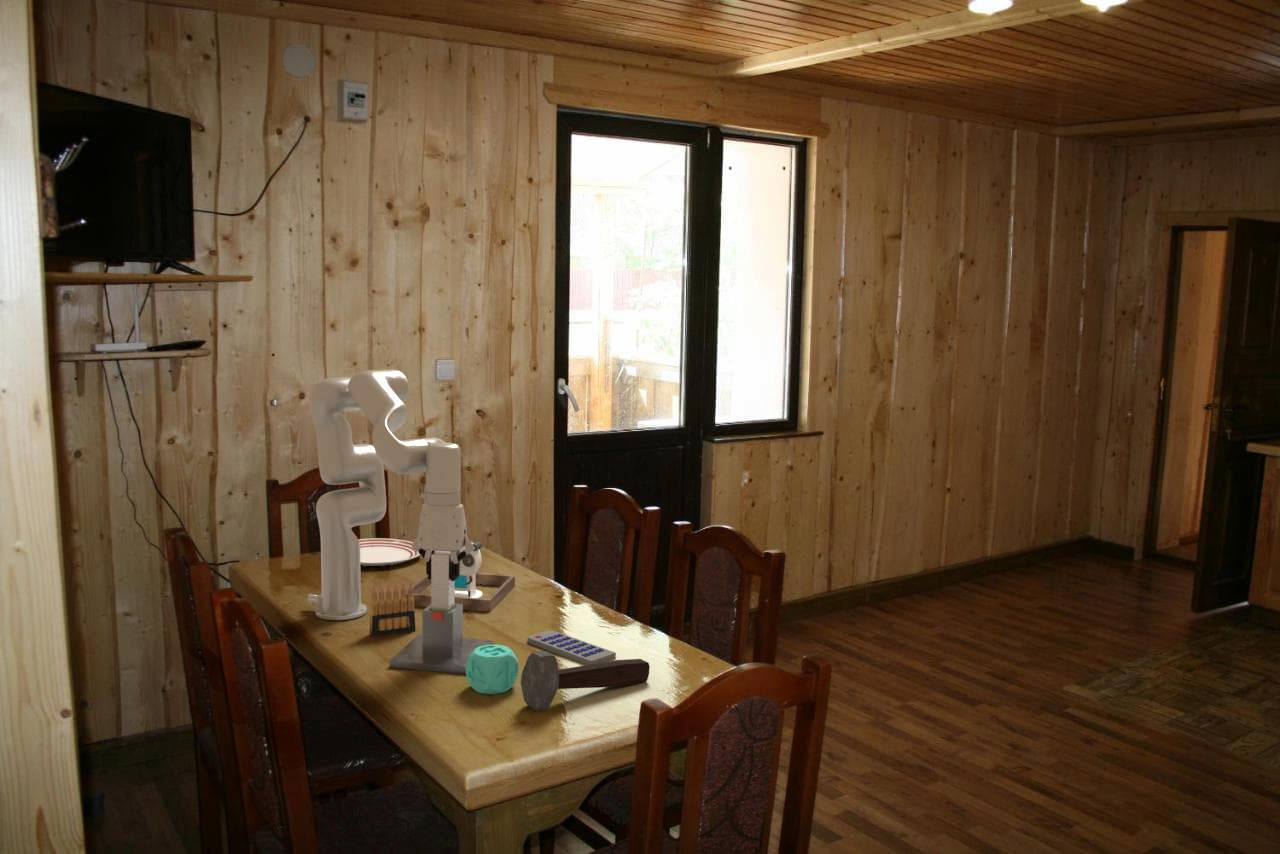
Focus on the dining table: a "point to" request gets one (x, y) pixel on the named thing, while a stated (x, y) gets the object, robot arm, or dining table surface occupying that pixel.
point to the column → (441, 582)
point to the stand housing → (439, 644)
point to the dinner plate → (385, 551)
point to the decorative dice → (492, 669)
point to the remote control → (571, 647)
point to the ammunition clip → (392, 612)
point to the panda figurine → (469, 574)
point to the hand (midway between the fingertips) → (442, 577)
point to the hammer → (575, 677)
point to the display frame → (469, 603)
